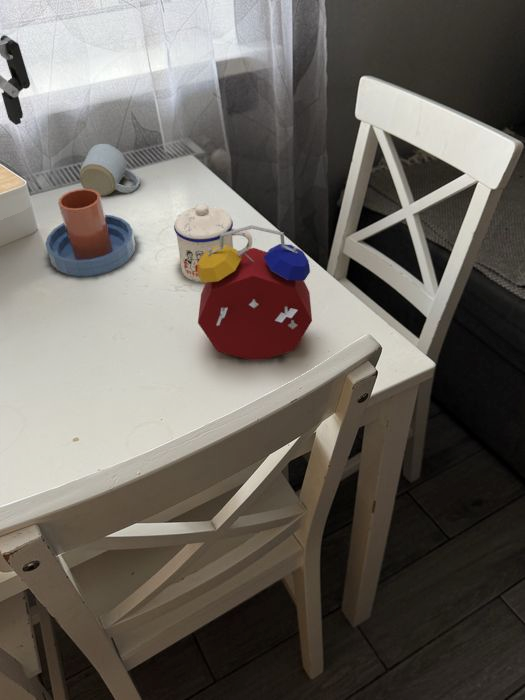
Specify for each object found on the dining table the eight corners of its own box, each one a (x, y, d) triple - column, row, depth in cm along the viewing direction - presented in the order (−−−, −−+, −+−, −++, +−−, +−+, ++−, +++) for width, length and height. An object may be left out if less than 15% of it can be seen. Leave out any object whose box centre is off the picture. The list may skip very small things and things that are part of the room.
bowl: (36, 273, 98) (29, 256, 96) (74, 227, 108) (69, 210, 106) (115, 284, 96) (111, 266, 93) (147, 236, 106) (144, 218, 103)
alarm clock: (307, 331, 86) (312, 209, 73) (311, 374, 80) (317, 250, 66) (206, 333, 87) (191, 212, 73) (201, 376, 80) (184, 253, 67)
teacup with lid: (178, 287, 95) (168, 223, 87) (182, 254, 101) (173, 192, 93) (254, 284, 95) (251, 220, 87) (252, 251, 101) (250, 189, 93)
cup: (67, 260, 100) (51, 207, 93) (84, 239, 104) (70, 187, 97) (102, 264, 99) (89, 211, 92) (118, 243, 103) (106, 190, 96)
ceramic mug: (81, 198, 116) (72, 161, 110) (93, 178, 121) (85, 142, 116) (135, 200, 115) (128, 163, 110) (144, 179, 121) (138, 143, 116)
